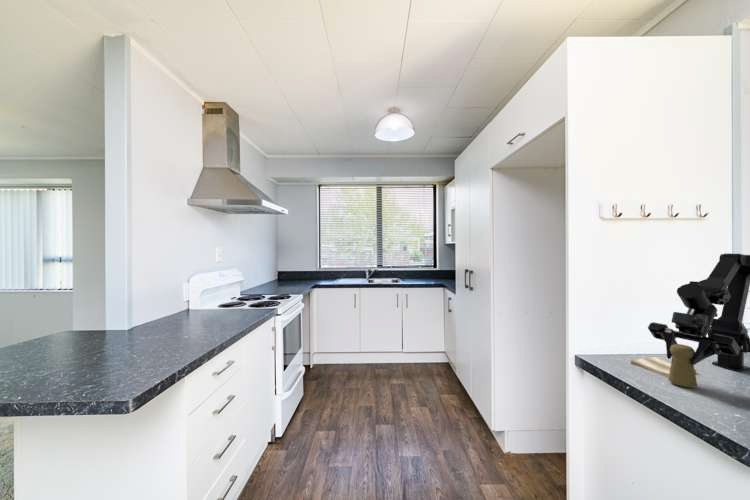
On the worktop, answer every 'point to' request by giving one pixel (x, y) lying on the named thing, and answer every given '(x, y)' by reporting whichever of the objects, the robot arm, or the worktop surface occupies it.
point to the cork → (682, 366)
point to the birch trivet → (654, 365)
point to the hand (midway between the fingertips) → (679, 360)
